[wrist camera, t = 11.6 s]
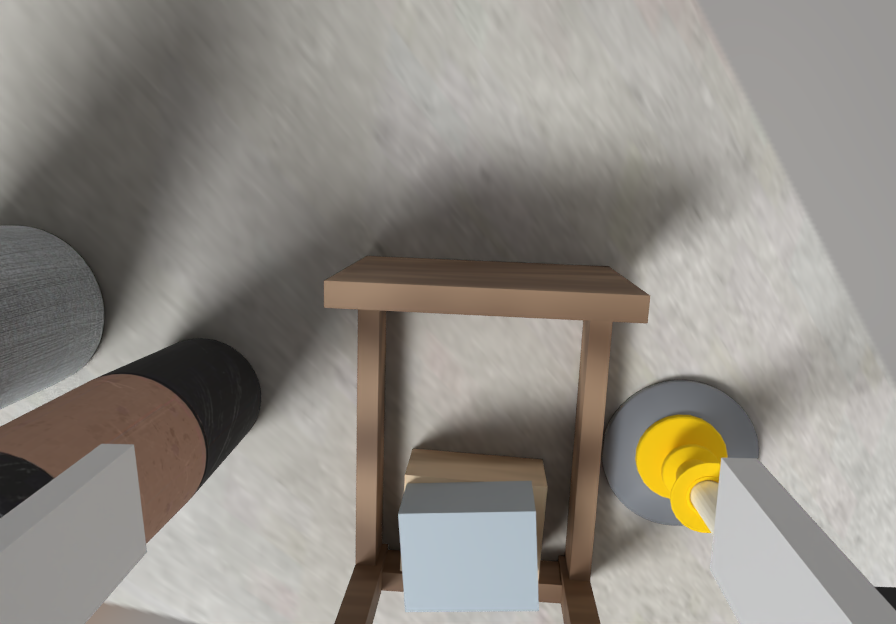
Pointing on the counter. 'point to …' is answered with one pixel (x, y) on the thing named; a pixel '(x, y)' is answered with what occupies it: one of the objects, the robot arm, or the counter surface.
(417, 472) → the offcut lower
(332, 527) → the counter surface
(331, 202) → the counter surface
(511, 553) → the offcut upper
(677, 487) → the candle
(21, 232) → the vase
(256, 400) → the travel mug
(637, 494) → the disc
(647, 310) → the frame
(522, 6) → the counter surface
